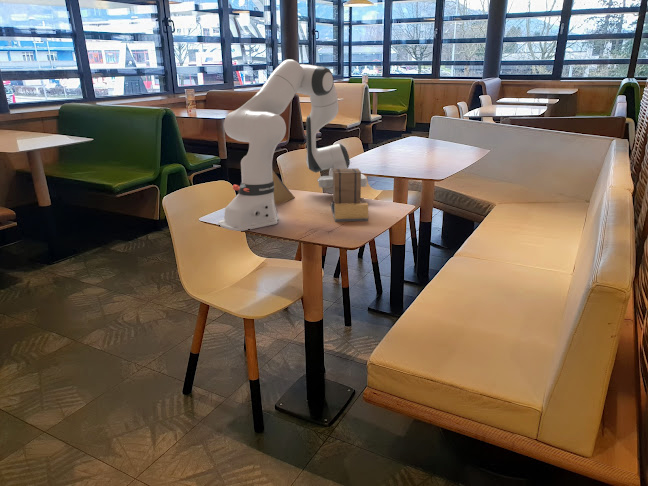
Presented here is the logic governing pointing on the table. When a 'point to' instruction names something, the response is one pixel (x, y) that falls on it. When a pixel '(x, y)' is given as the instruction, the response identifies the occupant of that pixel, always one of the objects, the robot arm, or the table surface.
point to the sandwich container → (280, 190)
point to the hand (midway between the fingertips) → (344, 185)
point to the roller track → (349, 211)
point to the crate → (346, 186)
